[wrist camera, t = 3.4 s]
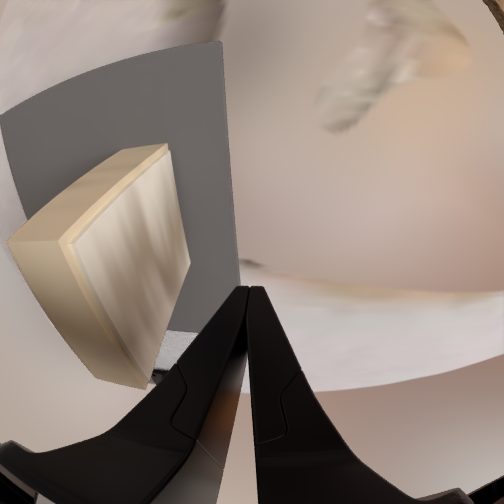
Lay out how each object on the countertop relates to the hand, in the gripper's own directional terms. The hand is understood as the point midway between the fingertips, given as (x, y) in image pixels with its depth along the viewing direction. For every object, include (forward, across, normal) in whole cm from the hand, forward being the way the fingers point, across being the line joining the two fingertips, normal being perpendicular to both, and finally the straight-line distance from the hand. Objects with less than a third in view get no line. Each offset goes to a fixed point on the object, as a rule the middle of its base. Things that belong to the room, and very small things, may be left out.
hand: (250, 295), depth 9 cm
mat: (+6, +9, +1) cm, 11 cm away
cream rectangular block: (+6, +5, 0) cm, 8 cm away
